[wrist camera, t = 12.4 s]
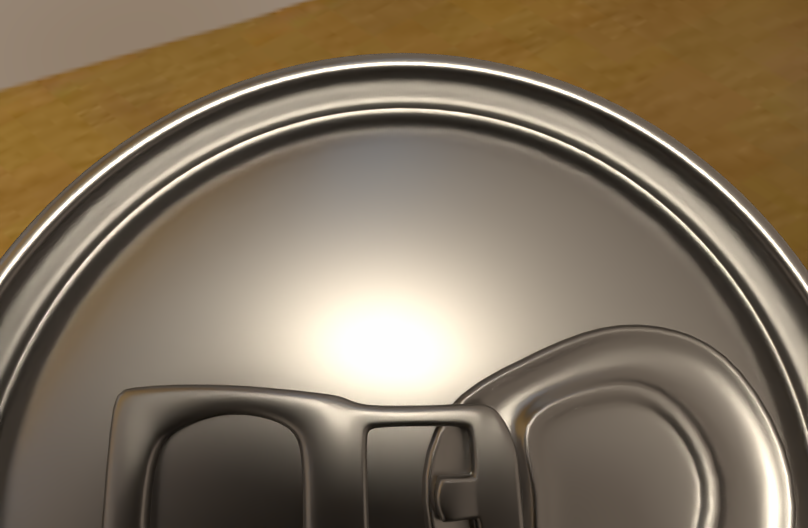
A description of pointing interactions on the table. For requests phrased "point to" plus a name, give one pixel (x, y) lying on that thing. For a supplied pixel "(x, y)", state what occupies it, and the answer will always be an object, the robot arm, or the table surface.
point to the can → (402, 318)
